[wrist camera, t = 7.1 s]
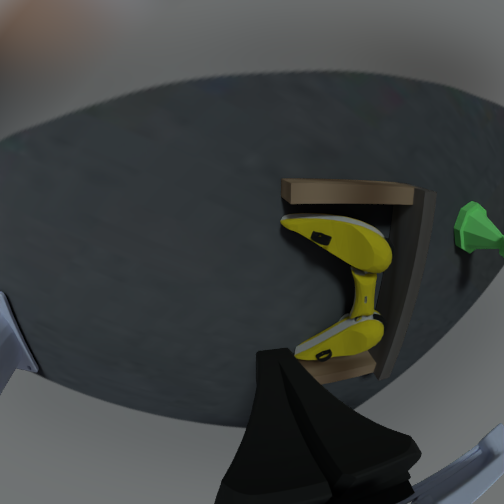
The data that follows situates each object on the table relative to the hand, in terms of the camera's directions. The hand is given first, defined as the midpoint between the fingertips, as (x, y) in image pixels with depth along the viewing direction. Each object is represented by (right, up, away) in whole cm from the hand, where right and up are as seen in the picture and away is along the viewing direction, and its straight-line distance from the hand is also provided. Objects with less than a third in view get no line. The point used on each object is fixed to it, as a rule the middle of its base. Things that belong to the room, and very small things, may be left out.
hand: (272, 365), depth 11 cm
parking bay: (+4, +3, +6) cm, 8 cm away
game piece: (+17, +7, +7) cm, 20 cm away
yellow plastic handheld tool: (+4, +3, +7) cm, 8 cm away
